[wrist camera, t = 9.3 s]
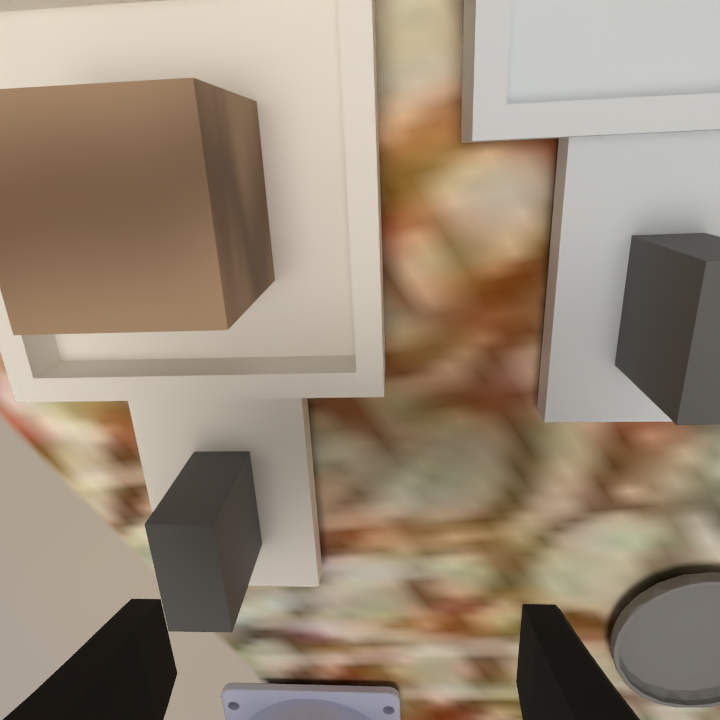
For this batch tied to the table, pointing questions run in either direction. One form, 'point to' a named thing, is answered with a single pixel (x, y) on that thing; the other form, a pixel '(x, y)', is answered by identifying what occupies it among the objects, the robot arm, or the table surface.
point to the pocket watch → (672, 642)
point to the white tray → (265, 316)
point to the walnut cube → (131, 207)
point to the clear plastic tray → (615, 193)
